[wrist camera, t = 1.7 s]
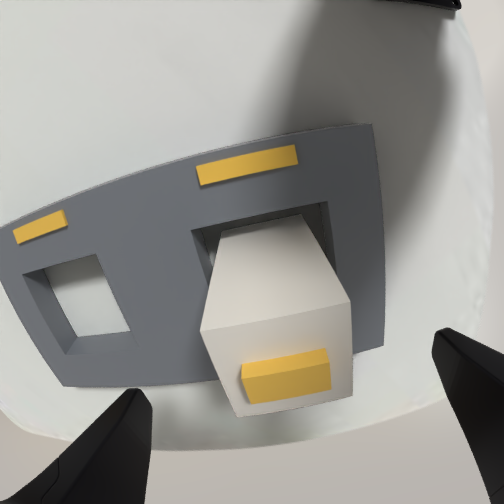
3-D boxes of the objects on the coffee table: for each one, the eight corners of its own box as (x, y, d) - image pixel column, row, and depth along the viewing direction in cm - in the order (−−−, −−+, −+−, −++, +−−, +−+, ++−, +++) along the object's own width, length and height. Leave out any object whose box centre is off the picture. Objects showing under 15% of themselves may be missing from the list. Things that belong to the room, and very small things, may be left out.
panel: (355, 123, 13) (373, 123, 11) (372, 325, 18) (384, 347, 16) (1, 226, 15) (-20, 238, 13) (73, 369, 19) (62, 388, 17)
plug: (301, 214, 15) (357, 314, 7) (312, 283, 16) (356, 408, 8) (222, 230, 15) (196, 345, 7) (240, 298, 17) (236, 431, 9)
